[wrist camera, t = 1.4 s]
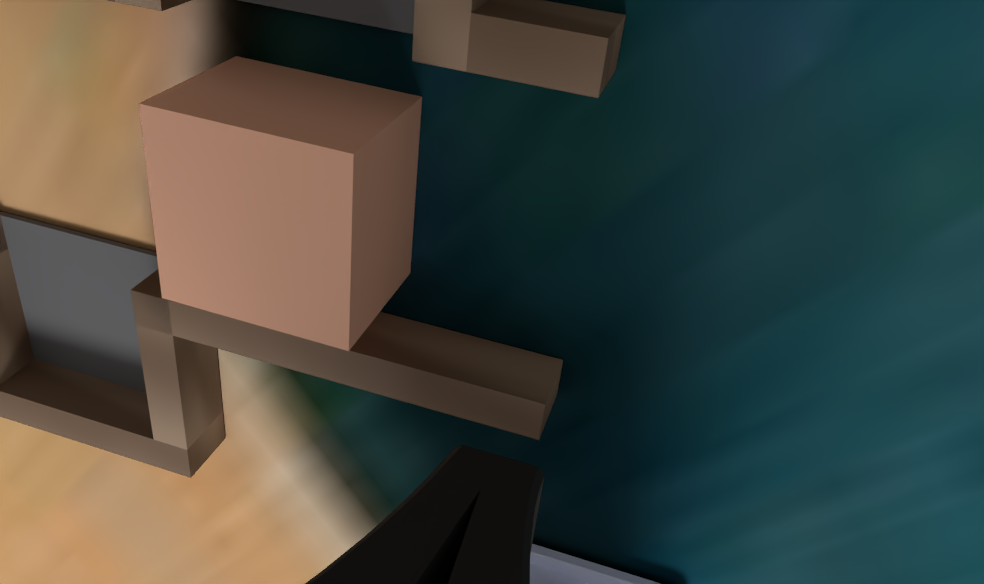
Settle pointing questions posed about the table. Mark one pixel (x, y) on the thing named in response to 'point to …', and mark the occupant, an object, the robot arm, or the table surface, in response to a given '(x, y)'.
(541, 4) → the trap lane
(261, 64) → the block
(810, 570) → the table surface
